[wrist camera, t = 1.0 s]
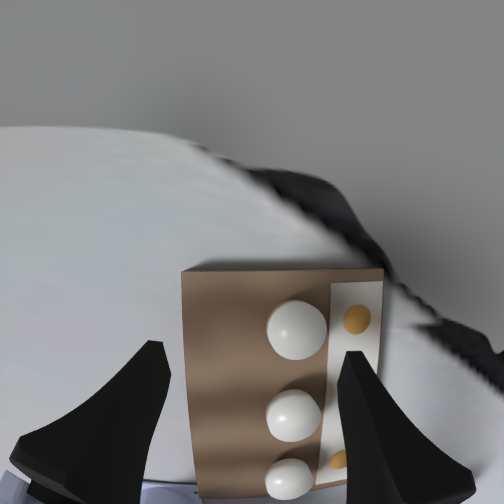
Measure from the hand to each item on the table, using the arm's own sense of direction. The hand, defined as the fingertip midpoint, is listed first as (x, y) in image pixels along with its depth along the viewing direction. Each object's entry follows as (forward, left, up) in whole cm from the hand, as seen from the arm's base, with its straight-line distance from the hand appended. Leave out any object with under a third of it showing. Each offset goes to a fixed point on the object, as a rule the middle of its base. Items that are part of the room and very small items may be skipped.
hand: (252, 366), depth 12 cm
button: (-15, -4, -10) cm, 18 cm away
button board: (-8, -4, -14) cm, 16 cm away
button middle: (-8, -4, -10) cm, 13 cm away
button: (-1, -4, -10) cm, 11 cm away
